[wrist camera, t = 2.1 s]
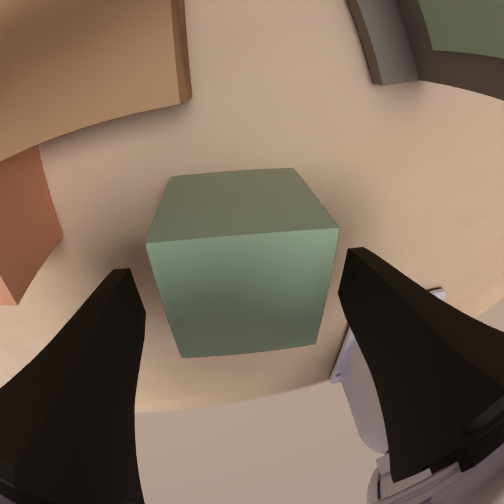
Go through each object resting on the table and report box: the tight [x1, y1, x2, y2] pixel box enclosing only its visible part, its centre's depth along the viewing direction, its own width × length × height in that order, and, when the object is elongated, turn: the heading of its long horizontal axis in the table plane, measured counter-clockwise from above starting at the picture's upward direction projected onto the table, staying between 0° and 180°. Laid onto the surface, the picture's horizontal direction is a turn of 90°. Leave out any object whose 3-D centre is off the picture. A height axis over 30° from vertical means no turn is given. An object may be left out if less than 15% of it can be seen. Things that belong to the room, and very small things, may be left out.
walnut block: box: [0, 0, 192, 161], centre depth 5 cm, size 7×7×4 cm
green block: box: [145, 168, 339, 358], centre depth 10 cm, size 5×5×5 cm
